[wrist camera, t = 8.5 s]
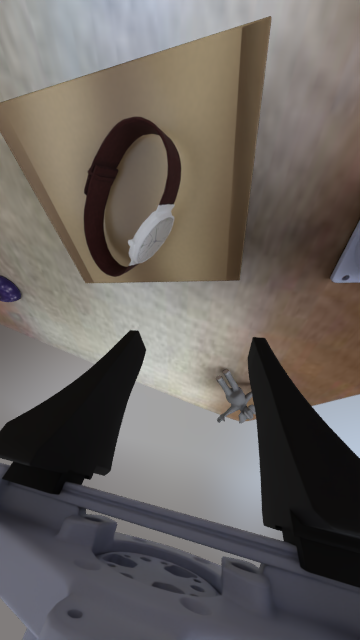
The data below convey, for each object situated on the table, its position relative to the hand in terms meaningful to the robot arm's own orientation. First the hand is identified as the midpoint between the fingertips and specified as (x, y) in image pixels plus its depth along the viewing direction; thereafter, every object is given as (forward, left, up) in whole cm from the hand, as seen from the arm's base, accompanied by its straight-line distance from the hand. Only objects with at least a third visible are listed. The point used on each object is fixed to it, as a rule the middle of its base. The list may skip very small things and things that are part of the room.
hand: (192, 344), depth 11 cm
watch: (+4, -7, -5) cm, 9 cm away
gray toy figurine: (-4, +22, -10) cm, 24 cm away
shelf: (+4, -7, -10) cm, 12 cm away
